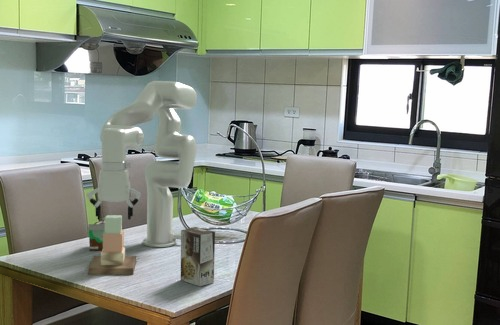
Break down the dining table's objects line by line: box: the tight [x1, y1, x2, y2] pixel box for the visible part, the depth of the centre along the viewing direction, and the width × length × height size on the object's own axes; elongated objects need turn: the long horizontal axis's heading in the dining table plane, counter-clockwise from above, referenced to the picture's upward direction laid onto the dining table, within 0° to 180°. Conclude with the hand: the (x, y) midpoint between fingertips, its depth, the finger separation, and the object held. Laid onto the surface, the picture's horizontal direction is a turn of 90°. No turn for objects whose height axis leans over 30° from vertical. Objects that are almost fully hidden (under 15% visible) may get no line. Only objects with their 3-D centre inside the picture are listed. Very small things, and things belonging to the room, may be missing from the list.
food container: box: [87, 217, 105, 252], centre depth 220 cm, size 12×6×10 cm, turn 168°
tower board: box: [87, 255, 137, 276], centre depth 198 cm, size 14×14×2 cm
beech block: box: [100, 246, 126, 265], centre depth 198 cm, size 7×7×4 cm
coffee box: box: [180, 226, 216, 287], centre depth 186 cm, size 9×6×16 cm
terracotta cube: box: [103, 229, 125, 253], centre depth 197 cm, size 6×6×6 cm
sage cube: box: [104, 214, 123, 234], centre depth 196 cm, size 5×5×5 cm
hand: (114, 218), depth 197 cm, fingers open, 9 cm apart
